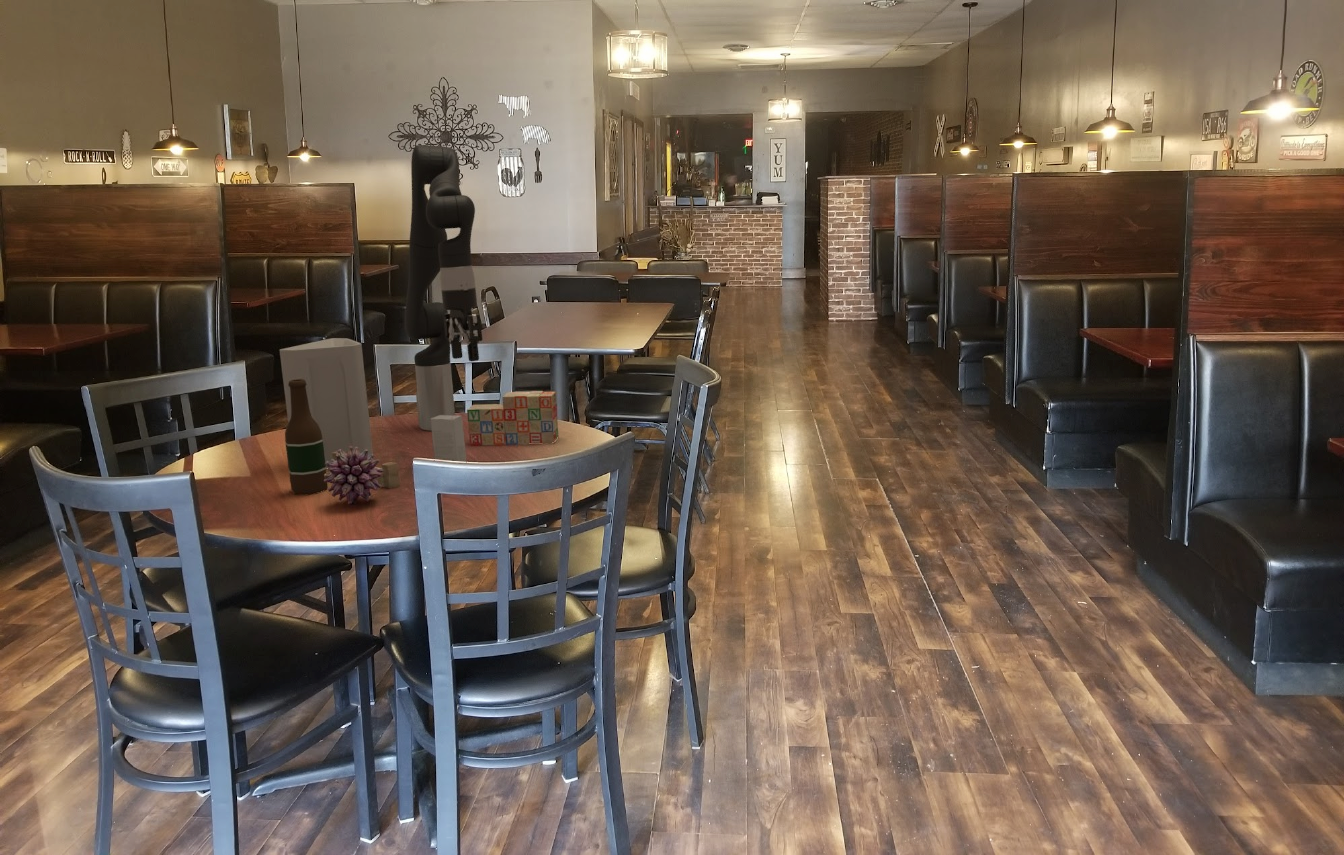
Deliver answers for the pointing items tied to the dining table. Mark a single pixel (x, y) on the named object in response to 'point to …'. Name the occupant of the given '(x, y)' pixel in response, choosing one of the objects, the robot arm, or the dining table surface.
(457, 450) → the skincare box
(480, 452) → the dining table surface
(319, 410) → the paper bag
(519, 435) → the stack of blocks
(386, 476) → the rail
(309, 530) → the dining table surface
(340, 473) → the flower
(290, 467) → the beer bottle
